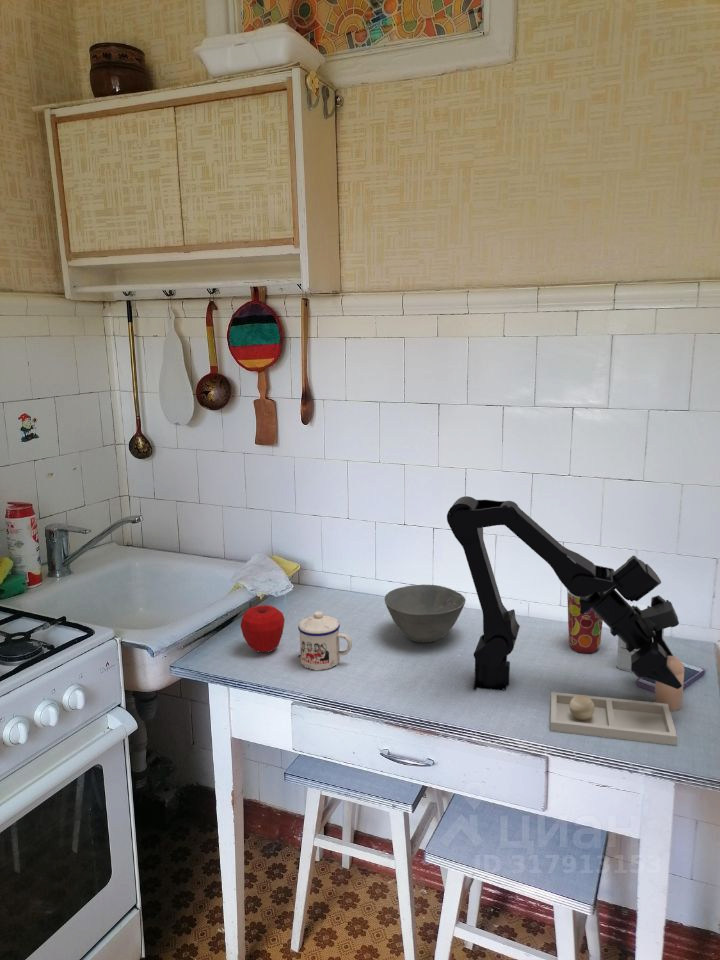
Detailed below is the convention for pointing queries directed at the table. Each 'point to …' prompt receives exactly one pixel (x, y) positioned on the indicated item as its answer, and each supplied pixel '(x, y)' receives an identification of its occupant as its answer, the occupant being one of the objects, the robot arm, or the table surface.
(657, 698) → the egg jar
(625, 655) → the supplement box
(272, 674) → the table surface
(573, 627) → the smoothie
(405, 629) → the bowl
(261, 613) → the apple
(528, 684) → the table surface
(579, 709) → the beige lumpy ball
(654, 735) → the pulp tray
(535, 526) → the robot arm
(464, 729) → the table surface
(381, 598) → the table surface
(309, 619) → the teacup with lid
